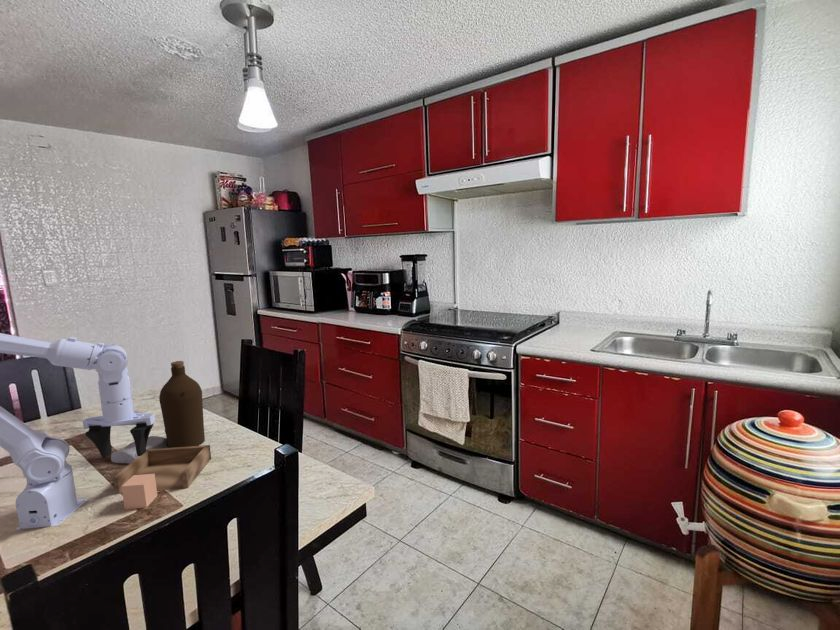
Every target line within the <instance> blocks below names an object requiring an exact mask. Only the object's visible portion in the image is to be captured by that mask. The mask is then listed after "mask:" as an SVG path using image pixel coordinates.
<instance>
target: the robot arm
mask: <svg viewBox="0 0 840 630" xmlns="http://www.w3.org/2000/svg"><path fill="white" fill-rule="evenodd" d="M0 354H6V355H15V356H17V355H18V356H24V357H25V356H26V357H33V358H42V359H46V360H48V361H49V362H50V364H52V365H53V366H58V367H63V368H64V367H66V368H72V369H79V370H86V371H87V370H88V371H91V370H94V371H96V372H97V375H98V381H97V384H98V392H99V398H100V405H101V406H100V407H101V412H102V415H100V416H99V415H98V416H90V417H87V418H85V419H83V420H82V428H83V429H84V430H86V429H87V430H88V431H85V436H86V437H87V438H88V439H89V440H90V441H91V442H92V443H93V444H94V445H95V447H96V448H97V450H98V452H99V454H100V456H101V458H102V459H106V458H108V457H109V456H111V454H112V443H111V432H112V431H111V429H112V427H121V426H122V427H123V426H134V427H132V428H131V429H129V433H130V434H131V437H132V438H133V442H135V446H136V453H137V456H142V455H143V454H144V453H145V452H146V445H147V440H148V437H150V433H151V430H152V428H153V426H154V424H155V423H156V422H157V421H156V414H155V413H143V412H142V413H140V412H135V409H134V402H133V394H132V385H131V378H130V376H129V369H128V354H127V352H126V350H125V349H124V348H123V347H121V346H119V345H117V344H114V343H109V344H106V345H105V343H104V342H98V343H91V342H86V341H79V340H78V338H77V337H74V336H69V337H68V338H59V339H58V340H56V341H54V342H50V341H44V340H40V339H39V340H38V339H32V338H30V337H29V338H28V337H23V336H19V335H11V334H6V333H3V332H2V333H1V332H0ZM0 448H2V449H3V450H4V451H6V452H8V453H9V456H10V458H11V460H12V463H13V464H14V465H16V467H18V468H19V469H20V470H21V472H22V474H23V476H24V478H25V479H26V484H25V488H24V489H23V490H22V491H21V492H20V493H19V495H17V497H16V499H15V508H16V514H17V518H18V519H17V520H18V523H19V525H18V526H17V527H16V528H15V531H16V532H17V531H19V530H24V529H25V530H27V529H35V528H45V527H46V528H48V527H56V526H58V525H60V524H61V523H62V522H63V521H64V520H66V519H67V518H68V517H69V516H70V515H72V514H73V513H74V512H75V511H76V510H78V509H79V508H80V506H82V505H83V504H84V503H86V502H87V501H88V498H79V499H78V497H77V492H76V485H75V479H74V474H73V467H72V465H71V464H70V463H69V462H67V457H68V456H69V455H70V454H69V453H70V450H71V449H70V445H69V443H68V442H67V441H66V440H65V439H62V438H59V437H53V436H50V435H49V434H47V433H46V432H44V431H38V430H34V429H33V428H32V427H30V425H28V424H26V423H24V422H23V421H22V420H21V419H19V418H18V417H16V416H15V415H13V414H12V413H11V412H9V411H8V410H6V409H5V408H4V407H2V406H1V405H0Z"/></svg>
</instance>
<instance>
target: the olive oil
mask: <svg viewBox="0 0 840 630" xmlns="http://www.w3.org/2000/svg"><path fill="white" fill-rule="evenodd" d="M170 367H171V368H170V371H171V376H170V378H169V379H168V380H167V382H166V383H165V384H164V385H163V386H162V387H161V390H160V391H159V397H158V398H159V405H160V410H161V411H160V412H161V415H162V421H163V426H164V433H165V438H167V444H168V446H167V448H175V447H189V446H202V444H204V443H205V424H204V422H205V421H204V406H203V404H204V403H203V391H202V388H201V386H200V384H199V383H198V382H197V381H196V380H195V379H193V378H192V377H190V376H189V375H187V374H186V368H185V367H186V366H185V362H184V361H183V360H177V361H172V362H170Z"/></svg>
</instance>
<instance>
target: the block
mask: <svg viewBox="0 0 840 630" xmlns="http://www.w3.org/2000/svg"><path fill="white" fill-rule="evenodd" d="M121 487H122V500H123V505H124V506H123V508H124V510H132V509H143V508H148V507H149V506H150V505H151V503H152V502H153V501H154V500H155V499H156V498H157V496H158V491H157V488H156V480H155V474H144V475H133V476H132V477H131V478H130V479H129V480H128V481H127V482H126V483H125V484H123V485H122V486H121Z"/></svg>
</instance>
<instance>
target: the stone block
mask: <svg viewBox="0 0 840 630" xmlns="http://www.w3.org/2000/svg"><path fill="white" fill-rule="evenodd" d="M162 448H168V444H167V438H166V437H163V436H158V435H149V437H148V440H147V445H146V450H148V449H162ZM137 457H138V456H137V453H136V446H135V441H133V442H131V443H129V444H127V445H126V446H125V447H124V448H121V449H119V450H117V451H113V452H111V455H110V461H111V463H117V464H128V465H129V464H130V463H131V462H132V461H133V460H135V459H136V458H137Z"/></svg>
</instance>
